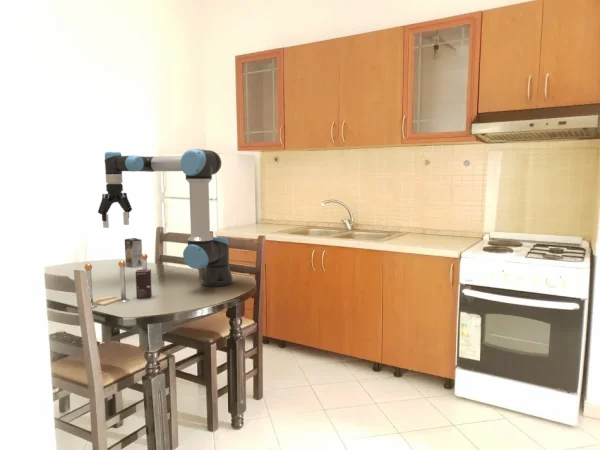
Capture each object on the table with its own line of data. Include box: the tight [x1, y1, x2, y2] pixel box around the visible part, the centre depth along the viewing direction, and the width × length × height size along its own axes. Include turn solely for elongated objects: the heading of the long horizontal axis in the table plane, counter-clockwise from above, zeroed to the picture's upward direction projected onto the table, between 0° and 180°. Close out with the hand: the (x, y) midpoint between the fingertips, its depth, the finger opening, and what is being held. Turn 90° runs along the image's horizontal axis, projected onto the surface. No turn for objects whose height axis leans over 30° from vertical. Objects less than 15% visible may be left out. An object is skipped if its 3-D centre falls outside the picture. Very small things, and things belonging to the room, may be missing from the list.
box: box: [135, 268, 153, 299], centre depth 191 cm, size 6×4×12 cm
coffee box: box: [124, 237, 143, 269], centre depth 257 cm, size 9×6×16 cm
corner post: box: [117, 260, 131, 303], centre depth 186 cm, size 5×5×18 cm
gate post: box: [141, 253, 153, 292], centre depth 199 cm, size 5×5×18 cm
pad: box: [93, 295, 121, 307], centre depth 185 cm, size 9×10×1 cm
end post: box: [84, 263, 98, 309], centre depth 177 cm, size 5×5×18 cm
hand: (116, 226), depth 218 cm, fingers open, 13 cm apart
